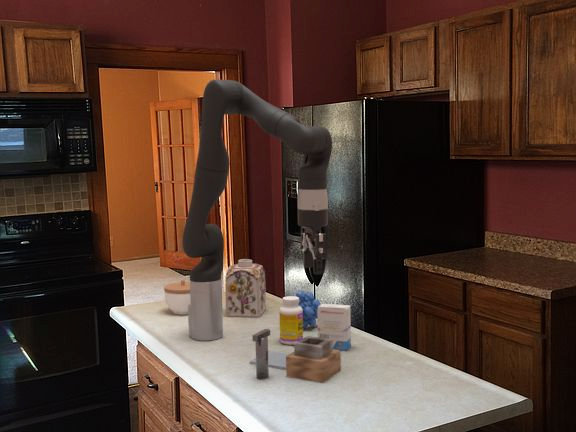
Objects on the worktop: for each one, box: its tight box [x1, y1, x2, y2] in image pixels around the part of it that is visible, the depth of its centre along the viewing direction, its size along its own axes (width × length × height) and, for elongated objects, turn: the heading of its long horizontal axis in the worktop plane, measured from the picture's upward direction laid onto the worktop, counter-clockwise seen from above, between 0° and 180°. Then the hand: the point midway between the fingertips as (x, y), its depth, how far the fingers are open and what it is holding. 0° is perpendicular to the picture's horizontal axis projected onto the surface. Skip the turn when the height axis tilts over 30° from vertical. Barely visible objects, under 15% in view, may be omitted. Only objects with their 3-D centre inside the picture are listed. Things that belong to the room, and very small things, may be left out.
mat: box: [249, 349, 290, 371], centre depth 172 cm, size 12×10×1 cm
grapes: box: [295, 290, 321, 330], centre depth 200 cm, size 12×7×12 cm, turn 117°
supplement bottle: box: [278, 295, 304, 346], centre depth 188 cm, size 7×7×13 cm
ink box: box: [316, 303, 352, 352], centre depth 183 cm, size 9×5×12 cm, turn 71°
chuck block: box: [285, 335, 342, 383], centre depth 163 cm, size 10×10×8 cm
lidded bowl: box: [163, 279, 191, 316], centre depth 224 cm, size 13×13×11 cm
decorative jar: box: [224, 258, 267, 318], centre depth 221 cm, size 12×12×18 cm
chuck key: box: [252, 328, 271, 380], centre depth 160 cm, size 3×6×11 cm, turn 151°
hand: (313, 270), depth 167 cm, fingers open, 8 cm apart
